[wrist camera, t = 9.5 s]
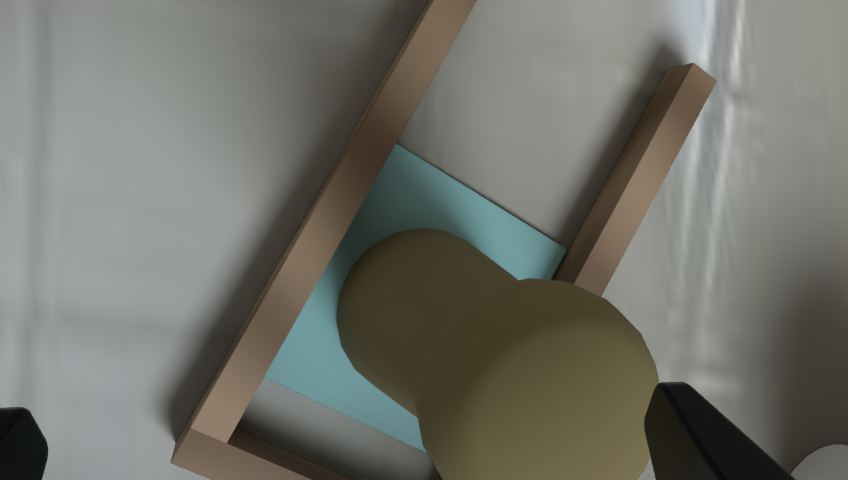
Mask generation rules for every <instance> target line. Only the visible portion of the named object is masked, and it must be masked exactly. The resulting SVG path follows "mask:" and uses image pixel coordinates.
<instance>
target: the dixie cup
mask: <svg viewBox="0 0 848 480" xmlns="http://www.w3.org/2000/svg"><path fill="white" fill-rule="evenodd" d="M790 475H791V476H793V477H794V478H795V479H796V480H848V446H847V445H840V444H836V445H829V446H825V447H822V448H820V449H818V450H816V451H814V452H813V453H811V454H810V455H808V456H807V457H806V458H805V459H803V460H802V461H801V462H800V463H799V465H798V466H796V467H795V469H794V470H793V471H792V473H791V474H790Z"/></svg>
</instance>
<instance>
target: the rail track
mask: <svg viewBox="0 0 848 480" xmlns="http://www.w3.org/2000/svg"><path fill="white" fill-rule="evenodd" d="M476 1H477V0H428V1H427V3H426V5H425V7H424V8H423V10H422V12H421V14H420V15H419V17H418V19H417V21H416V22H415V24H414V26H413V28H412V29H411V31H410V33H409V35H408V36H407V38H406V40H405V42H404V43H403V45H402V47H401V49H400V50H399V52H398V54H397V56H396V58H395V59H394V61H393V63H392V65H391V66H390V68H389V70H388V72H387V73H386V75H385V77H384V79H383V80H382V82H381V84H380V86H379V87H378V89H377V91H376V93H375V94H374V96H373V98H372V100H371V101H370V103H369V105H368V107H367V108H366V110H365V112H364V114H363V115H362V117H361V119H360V121H359V122H358V124H357V126H356V128H355V129H354V131H353V133H352V135H351V136H350V138H349V140H348V142H347V143H346V145H345V147H344V149H343V150H342V152H341V154H340V156H339V158H338V159H337V161H336V163H335V165H334V166H333V168H332V170H331V172H330V173H329V175H328V177H327V179H326V180H325V182H324V184H323V186H322V187H321V189H320V191H319V193H318V194H317V196H316V198H315V200H314V201H313V203H312V205H311V207H310V208H309V210H308V212H307V214H306V215H305V217H304V219H303V221H302V222H301V224H300V226H299V228H298V229H297V231H296V233H295V235H294V236H293V238H292V240H291V242H290V243H289V245H288V247H287V249H286V250H285V252H284V254H283V256H282V257H281V259H280V261H279V263H278V265H277V266H276V268H275V270H274V272H273V273H272V275H271V277H270V279H269V280H268V282H267V284H266V286H265V287H264V289H263V291H262V293H261V294H260V296H259V298H258V300H257V301H256V303H255V305H254V307H253V308H252V310H251V312H250V314H249V315H248V317H247V319H246V321H245V322H244V324H243V326H242V328H241V329H240V331H239V333H238V335H237V336H236V338H235V340H234V342H233V343H232V345H231V347H230V349H229V350H228V352H227V354H226V356H225V357H224V359H223V361H222V363H221V365H220V366H219V368H218V370H217V372H216V373H215V375H214V377H213V379H212V380H211V382H210V384H209V386H208V387H207V389H206V391H205V393H204V394H203V396H202V398H201V400H200V401H199V403H198V405H197V407H196V408H195V410H194V412H193V414H192V415H191V417H190V419H189V421H188V422H187V424H186V426H185V428H184V429H183V431H182V433H181V435H180V436H179V438H178V440H177V442H176V443H175V447H174V451H173V455H172V459H171V463H172V464H174V465H177V466H179V467H182V468H184V469H187V470H189V471H191V472H194V473H196V474H199V475H201V476H204V477H206V478H209V479H211V480H352V479H349V478H347V477H345V476H342V475H340V474H338V473H335V472H333V471H331V470H329V469H326V468H324V467H322V466H319V465H317V464H315V463H313V462H310V461H308V460H306V459H303V458H301V457H299V456H296V455H294V454H292V453H290V452H287V451H285V450H283V449H280V448H278V447H276V446H273V445H271V444H269V443H267V442H264V441H262V440H260V439H257V438H255V437H253V436H251V435H248V434H246V433H244V432H241V431H239V430H237V429H235V427H236V426H237V424H238V422H239V420H240V419H241V417H242V415H243V413H244V412H245V410H246V408H247V406H248V404H249V403H250V401H251V399H252V397H253V396H254V394H255V392H256V390H257V389H258V387H259V385H260V383H261V381H262V380H263V378H264V377H265V378H267V379H269V380H271V381H273V382H276V383H278V384H280V385H282V386H284V387H286V388H288V389H291V390H293V391H295V392H297V393H299V394H301V395H303V396H306V397H308V398H310V399H312V400H314V401H316V402H318V403H321V404H323V405H325V406H327V407H329V408H331V409H333V410H336V411H338V412H340V413H342V414H344V415H346V416H348V417H351V418H353V419H355V420H357V421H359V422H361V423H363V424H366V425H368V426H370V427H372V428H374V429H376V430H378V431H381V432H383V433H385V434H387V435H389V436H391V437H393V438H396V439H398V440H400V441H402V442H404V443H406V444H408V445H411V446H413V447H415V448H417V449H419V450H421V451H423V452H426V450H425V448H424V447H423V444H422V439H421V433H420V428H419V423H418V418H416V417H415V416H414V415H412V414H411V413H410V412H408V411H407V410H406V409H404V408H403V407H402V406H400V405H399V404H398V403H396V402H395V401H394V400H392V399H391V398H390V397H388V396H387V395H386V394H384V393H383V392H382V391H380V390H379V389H378V388H376V387H375V386H374V385H373V384H371V383H370V382H369V381H368V380H367V379H365V378H364V377H363V376H362V375H361V374H359V373H358V372H357V371H356V370H355V369H354V367H353V366H352V364H351V362H350V361H349V359H348V357H347V355H346V354H345V352H344V350H343V349H342V347H341V342H340V337H339V332H338V328H337V323H336V317H337V308H338V300H339V293H340V291H341V288H342V286H343V284H344V282H345V280H346V277H347V275H348V273H349V271H350V269H351V267H352V266H353V265H354V264H355V263H356V262H357V260H358V259H359V258H360V257H361V256H362V255H363V254H364V253H365V252H366V251H367V249H368V248H369V247H371V246H372V245H374V244H376V243H378V242H379V241H381V240H383V239H384V238H386V237H388V236H390V235H391V234H393V233H397V232H402V231H407V230H411V229H416V228H426V229H434V230H443V231H447V232H449V233H451V234H453V235H455V236H457V237H459V238H461V239H464V240H466V241H468V242H469V243H470V244H472V245H473V246H474V247H476V248H477V249H478V250H480V251H481V252H482V253H484V254H485V255H486V256H488V257H489V258H490V259H492V260H493V261H494V262H496V263H497V264H498V265H499V266H501V267H502V268H503V269H505V270H506V271H507V272H509V273H510V274H511V275H513V276H514V277H515V278H517V279H518V280H523V279H527V278H534V279H544V280H551V278H552V276H553V274H554V272H555V271H556V269H557V267H558V265H559V263H560V261H561V260H562V258H563V256H564V254H565V252H566V250H567V249H566V248H564V247H562V246H561V245H559V244H558V243H556V242H554V241H553V240H551V239H550V238H548V237H546V236H545V235H543V234H541V233H540V232H538V231H537V230H535V229H533V228H532V227H530V226H529V225H527V224H525V223H524V222H522V221H521V220H519V219H517V218H516V217H514V216H512V215H511V214H509V213H508V212H506V211H504V210H503V209H501V208H500V207H498V206H496V205H495V204H493V203H491V202H490V201H488V200H487V199H485V198H483V197H482V196H480V195H479V194H477V193H475V192H474V191H472V190H471V189H469V188H467V187H466V186H464V185H462V184H461V183H459V182H458V181H456V180H454V179H453V178H451V177H450V176H448V175H446V174H445V173H443V172H441V171H440V170H438V169H437V168H435V167H433V166H432V165H430V164H429V163H427V162H425V161H424V160H422V159H420V158H419V157H417V156H416V155H414V154H412V153H411V152H409V151H408V150H406V149H404V148H403V147H401V146H400V145H398V144H396V143H397V141H398V139H399V137H400V136H401V134H402V132H403V130H404V128H405V127H406V125H407V123H408V121H409V120H410V118H411V116H412V114H413V113H414V111H415V109H416V107H417V105H418V104H419V102H420V100H421V98H422V97H423V95H424V93H425V91H426V90H427V88H428V86H429V84H430V82H431V81H432V79H433V77H434V75H435V74H436V72H437V70H438V68H439V67H440V65H441V63H442V61H443V59H444V58H445V56H446V54H447V52H448V51H449V49H450V47H451V45H452V44H453V42H454V40H455V38H456V36H457V35H458V33H459V31H460V29H461V28H462V26H463V24H464V22H465V21H466V19H467V17H468V15H469V13H470V12H471V10H472V8H473V6H474V5H475V3H476ZM716 82H717V81H716V80H715V79H714V78H713V77H711V76H710V75H709V74H707V73H706V72H705V71H704V70H702V69H701V68H700V67H699V66H697V65H696V64H695V63H690V64H686V65H682V66H679V67H675V68H671V69H667V71H666V73H665V75H664V76H663V78H662V80H661V82H660V84H659V86H658V87H657V89H656V91H655V93H654V95H653V97H652V99H651V100H650V102H649V104H648V106H647V108H646V110H645V111H644V113H643V115H642V117H641V119H640V121H639V122H638V124H637V126H636V128H635V130H634V132H633V134H632V135H631V137H630V139H629V141H628V143H627V145H626V146H625V148H624V150H623V152H622V154H621V156H620V157H619V159H618V161H617V163H616V165H615V167H614V169H613V170H612V172H611V174H610V176H609V178H608V180H607V181H606V183H605V185H604V187H603V189H602V191H601V192H600V194H599V196H598V198H597V200H596V202H595V204H594V205H593V207H592V209H591V211H590V213H589V215H588V216H587V218H586V220H585V222H584V224H583V226H582V227H581V229H580V231H579V233H578V235H577V237H576V239H575V240H574V242H573V244H572V246H571V248H570V250H569V251H568V253H567V255H566V257H565V259H564V261H563V262H562V264H561V266H560V268H559V270H558V272H557V274H556V275H555V277H554V279H553V280H555V281H564V282H567V283H571V284H574V285H577V286H579V287H581V288H583V289H585V290H587V291H590V292H592V293H594V294H596V295H598V296H600V297H601V296H602V294H603V292H604V290H605V288H606V286H607V285H608V283H609V281H610V279H611V277H612V275H613V273H614V272H615V270H616V268H617V266H618V264H619V262H620V260H621V259H622V257H623V255H624V253H625V251H626V249H627V247H628V245H629V244H630V242H631V240H632V238H633V236H634V234H635V232H636V231H637V229H638V227H639V225H640V223H641V221H642V219H643V218H644V216H645V214H646V212H647V210H648V208H649V206H650V205H651V203H652V201H653V199H654V197H655V195H656V193H657V192H658V190H659V188H660V186H661V184H662V182H663V180H664V178H665V177H666V175H667V173H668V171H669V169H670V167H671V165H672V164H673V162H674V160H675V158H676V156H677V154H678V152H679V151H680V149H681V147H682V145H683V143H684V141H685V139H686V138H687V136H688V134H689V132H690V130H691V128H692V126H693V125H694V123H695V121H696V119H697V117H698V115H699V113H700V111H701V110H702V108H703V106H704V104H705V102H706V100H707V98H708V97H709V95H710V93H711V91H712V89H713V87H714V85H715V84H716ZM426 453H427V452H426Z"/></svg>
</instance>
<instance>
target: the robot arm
mask: <svg viewBox="0 0 848 480" xmlns="http://www.w3.org/2000/svg"><path fill="white" fill-rule="evenodd" d="M644 430H645V436H646V440H647V444H648V448H649V452H650V457H651V461H652V465H653V469H654V473H655V477H656V480H796V479H795V478H794V477H793V476H791V475H790V474H789V473H788V472H787V471H786V470H785V469H784V468H782V467H781V466H780V465H779V464H778V463H777V462H776V461H775V460H773V459H772V458H771V457H770V456H769V455H768V454H767V453H766V452H764V451H763V450H762V449H761V448H760V447H759V446H758V445H757V444H755V443H754V442H753V441H752V440H751V439H750V438H749V437H748V436H746V435H745V434H744V433H743V432H742V431H741V430H740V429H739V428H737V427H736V426H735V425H734V424H733V423H732V422H731V421H730V420H728V419H727V418H726V417H725V416H724V415H723V414H722V413H721V412H719V411H718V410H717V409H716V408H715V407H714V406H713V405H712V404H710V403H709V402H708V401H707V400H706V399H705V398H704V397H703V396H701V395H700V394H699V393H698V392H697V391H696V390H695V389H694V388H692V387H691V386H690V385H688V384H687V383H684V382H662V383H659V384H657V385H656V386H655V389H654V391H653V394H652V397H651V400H650V403H649V406H648V409H647V412H646V415H645V418H644ZM47 457H48V445H47V441H46V439H45V437H44V436H43V434H42V432H41V430H40V428H39V427H38V425H37V423H36V421H35V419H34V418H33V416H32V414H31V413H30V411H29V410H28V409H26V408H24V407H9V408H0V480H42V477H43V473H44V469H45V466H46V462H47Z"/></svg>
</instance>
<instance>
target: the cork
mask: <svg viewBox="0 0 848 480" xmlns="http://www.w3.org/2000/svg"><path fill="white" fill-rule="evenodd" d="M336 323H337V328H338V332H339V337H340V342H341V347H342V349H343V350H344V352H345V354H346V355H347V357H348V359H349V361H350V362H351V364H352V366H353V367H354V369H355V370H356V371H357V372H358V373H359V374H361V375H362V376H363V377H364V378H365V379H367V380H368V381H369V382H370V383H371V384H373V385H374V386H375V387H376V388H378V389H379V390H380V391H382V392H383V393H384V394H386V395H387V396H388V397H390V398H391V399H392V400H394V401H395V402H396V403H398V404H399V405H400V406H402V407H403V408H404V409H406V410H407V411H408V412H410V413H411V414H412V415H414V416H415V417H416V418H418V423H419V428H420V433H421V439H422V444H423V447H424V448H425V450H426V452H427V454H428V455H429V457H430V459H431V460H432V462H433V464H434V466H435V467H436V469H437V471H438V473H439V474H440V476H441V478H442V479H443V480H637V479H638V478H639V477H640V475H641V474H642V473H643V472H644V470H645V467H646V465H647V463H648V460H649V458H650V452H649V448H648V444H647V440H646V436H645V430H644V418H645V415H646V412H647V409H648V406H649V403H650V400H651V397H652V394H653V391H654V389H655V386H656V385H657V384H659V379H658V374H657V370H656V365H655V363H654V361H653V358H652V356H651V354H650V352H649V350H648V348H647V346H646V343H645V341H644V339H643V337H642V335H641V333H640V332H639V331H638V330H637V329H636V328H635V327H634V326H633V325H632V324H631V323H630V322H629V321H628V320H627V319H626V318H625V317H624V316H623V315H622V314H621V313H620V312H619V311H618V310H617V309H616V308H615V307H614V306H613V305H612V304H611V303H610V302H609V301H608V300H606V299H604V298H602V297H600V296H598V295H596V294H594V293H592V292H590V291H587V290H585V289H583V288H581V287H579V286H577V285H574V284H571V283H567V282H564V281H555V280H544V279H534V278H527V279H523V280H518V279H517V278H515V277H514V276H513V275H511V274H510V273H509V272H507V271H506V270H505V269H503V268H502V267H501V266H499V265H498V264H497V263H496V262H494V261H493V260H492V259H490V258H489V257H488V256H486V255H485V254H484V253H482V252H481V251H480V250H478V249H477V248H476V247H474V246H473V245H472V244H470V243H469V242H468V241H466V240H464V239H461V238H459V237H457V236H455V235H453V234H451V233H449V232H447V231H443V230H434V229H426V228H416V229H411V230H407V231H402V232H397V233H393V234H391V235H390V236H388V237H386V238H384V239H383V240H381V241H379V242H378V243H376V244H374V245H372V246H371V247H369V248H368V249H367V251H366V252H365V253H364V254H363V255H362V256H361V257H360V258H359V259H358V260H357V262H356V263H355V264H354V265H353V266H352V267H351V269H350V271H349V273H348V275H347V277H346V280H345V282H344V284H343V286H342V288H341V291H340V293H339V300H338V308H337V317H336Z"/></svg>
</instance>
